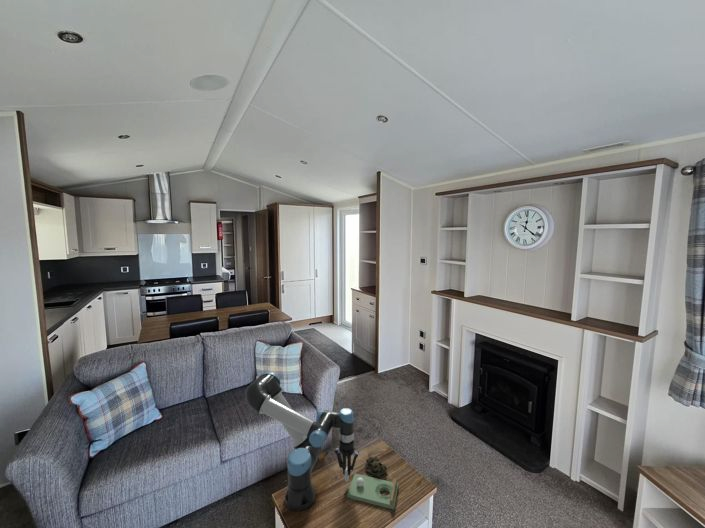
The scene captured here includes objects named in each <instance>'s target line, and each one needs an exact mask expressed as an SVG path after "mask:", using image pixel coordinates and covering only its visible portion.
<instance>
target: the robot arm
mask: <svg viewBox="0 0 705 528" xmlns="http://www.w3.org/2000/svg"><path fill="white" fill-rule="evenodd" d="M244 398H245V400H246V404H247V405H248V406H249V408H251V410H253V411H254V412H256V413H257V414H259V415H263V414H264V415H266V416H268V417H270V418H271V419H273V420H275V421H277V422H279V423H280V424H281V425H282V426H283V428H284V429H285V431H286V432H287V434H288V435H289V437H290V439H292V441H293V442H292V446H293V448H294V450H292V452H290V454H289V455H288V458H287V463H286V467H287V487H286V491H285V494H284V502H285V506H286V507H287V508H288V509H289V510H291V511H296V512H301V511H304V510H307V509H309V508H310V507H311V506H312V505H313V504H314V502H315V498H316V491H315V488H314V485H313V481H312V471H313V468H314V467H315V464H316V463H317V461H318V458H319V457H320V455H321V454H322V450H323V449H324V448H323V446H324V443H325V442H326V441H327V438H328V436H329V434H330V432H331V430H332V429H333V428H334V429H339V447H335V450H334V453H335V454H336V459H337V462H338V466H339V468H340V469H342V475H344V482H345V483H348V482H349V479H350V476H351V473H352V472H351V471H353V470H354V467H355V465H356V461H357V458H358V456H359V454H360V453H359V451H356V450H355V449H356V448H355V430H354V429H355V416H354V414H355V413H354V411H353V410H352V409H351V408H348V407H346V408H342V409H340V410H339V412H338V411H332V410H326V409H324V410H323V409H320V410H318V412H317V415H316V421H314V420H313V419H311V418H309V417H307V416H305V415H304V414H301V413H299V412H298V411H296V410H294V409H293V408H292V407H291V405H290V404H289V402H288V400H286V398H285V396H284V395H283V388H282V386H281V378H280V376H279V375H278V374H277V373H276V372H273V371H265V372H263V373H262V374H261V375H259V376H258V377H256V378H255V379H254V380H253V382H251V383H250V384H249V385H248V386H247V388H246V389H245V395H244ZM352 456H353V459H352Z"/></svg>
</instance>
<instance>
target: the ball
mask: <svg viewBox="0 0 705 528" xmlns="http://www.w3.org/2000/svg"><path fill="white" fill-rule="evenodd" d="M356 483H357V485H358V486H359V487H361V486H363V485H364V480H363V478H361V477H360V478H358V479H357V481H356Z"/></svg>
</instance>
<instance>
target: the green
mask: <svg viewBox="0 0 705 528" xmlns="http://www.w3.org/2000/svg"><path fill="white" fill-rule="evenodd" d="M360 477H361V478H363V480H364V485H363V486H361V487H359V486H358V485H357V483H356V481H357V479H358V478H360ZM397 479H398V478H395V477H394V478H393V481H389V480H385V479H380V478H376V477H372V476H367V475H363V474H359V473H354V475H353V478H352V480H351V483H350V486H349V489H348V491H347V493H346V498H348V499H351V500H355V501H359V502H364V503H367V504H371V505H375V506H379V507H383V508H387V509H391V510H395V505H396V501H397V494H398V490H399V483H398V482H397ZM383 491H386V492H388V495H383V494H381V492H383Z"/></svg>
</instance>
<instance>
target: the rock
mask: <svg viewBox="0 0 705 528" xmlns="http://www.w3.org/2000/svg"><path fill="white" fill-rule="evenodd" d="M365 462H366V463H365V465H364V469H365V470H366V472H367V473H369V474H370V475H373V476H376V477H378V478H380V477H382V475H384V474H386V472H387V469H388V468H387V466H386V464H385V463H381V461H380V460H379V457H378V456H377V455H375V456H369V457H368V458H367V459H366V460H365Z"/></svg>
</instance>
